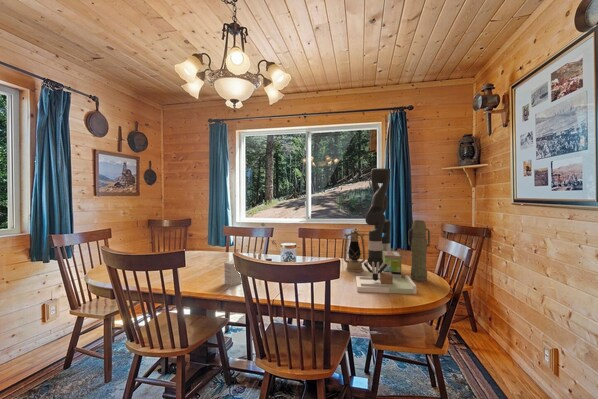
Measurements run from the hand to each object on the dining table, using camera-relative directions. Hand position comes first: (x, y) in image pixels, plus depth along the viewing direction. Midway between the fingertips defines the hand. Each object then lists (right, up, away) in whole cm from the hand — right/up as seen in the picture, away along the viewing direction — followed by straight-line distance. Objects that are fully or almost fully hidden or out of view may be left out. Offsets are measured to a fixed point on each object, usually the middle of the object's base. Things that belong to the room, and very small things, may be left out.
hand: (375, 280), depth 163 cm
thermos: (+29, -3, +13) cm, 32 cm away
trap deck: (+5, -3, -1) cm, 6 cm away
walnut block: (+6, -1, -1) cm, 6 cm away
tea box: (+15, -3, +19) cm, 24 cm away
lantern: (-4, -3, +37) cm, 38 cm away
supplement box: (-80, -4, +7) cm, 80 cm away
